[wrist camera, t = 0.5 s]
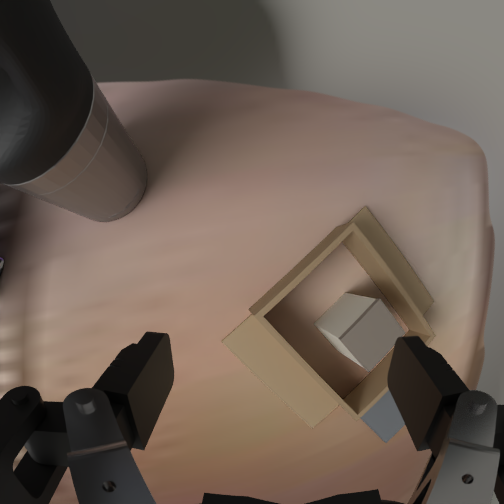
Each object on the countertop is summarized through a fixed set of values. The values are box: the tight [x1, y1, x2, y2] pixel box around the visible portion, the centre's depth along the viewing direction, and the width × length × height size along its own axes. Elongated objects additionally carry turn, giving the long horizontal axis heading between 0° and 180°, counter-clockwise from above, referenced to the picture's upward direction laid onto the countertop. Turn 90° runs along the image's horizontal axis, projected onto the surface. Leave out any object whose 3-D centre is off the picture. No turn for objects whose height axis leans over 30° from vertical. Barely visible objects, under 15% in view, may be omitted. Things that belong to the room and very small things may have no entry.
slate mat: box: [361, 390, 405, 443], centre depth 34 cm, size 9×12×1 cm
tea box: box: [314, 293, 405, 372], centre depth 30 cm, size 5×5×8 cm
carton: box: [221, 206, 436, 428], centre depth 32 cm, size 17×22×4 cm
